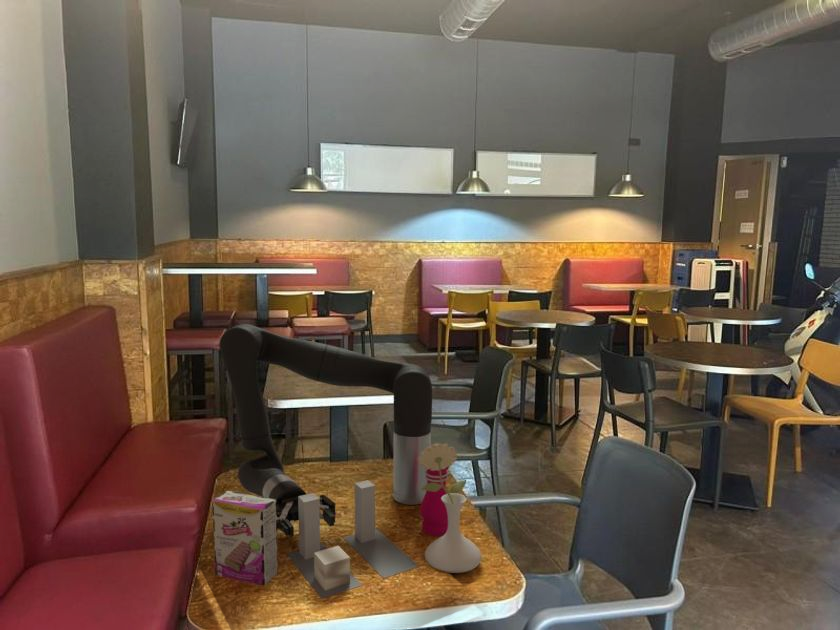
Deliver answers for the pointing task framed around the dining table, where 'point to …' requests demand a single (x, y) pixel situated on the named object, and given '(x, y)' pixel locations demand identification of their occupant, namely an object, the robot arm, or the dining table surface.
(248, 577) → the candy bar box
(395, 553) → the grey base with post
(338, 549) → the pale block
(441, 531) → the pepper mill
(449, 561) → the flower in vase
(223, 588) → the dining table surface
